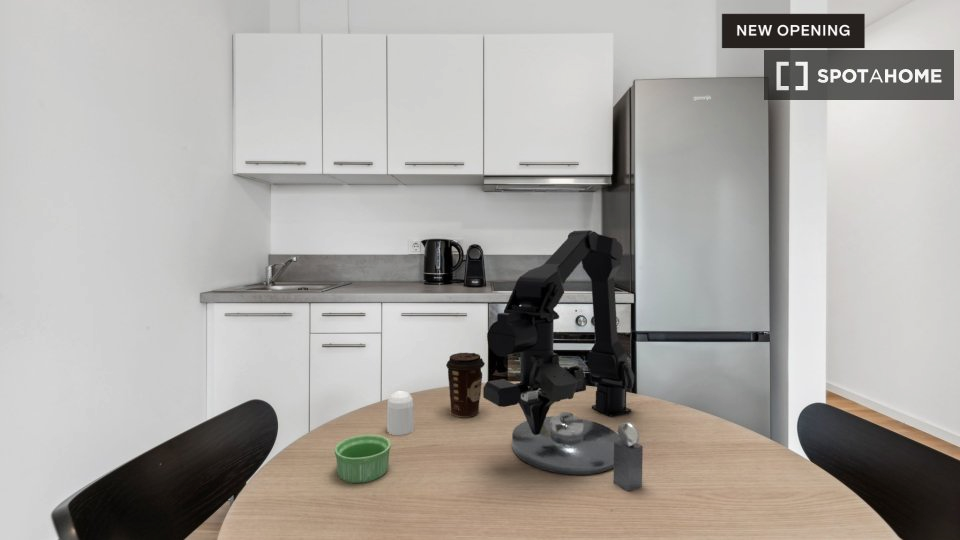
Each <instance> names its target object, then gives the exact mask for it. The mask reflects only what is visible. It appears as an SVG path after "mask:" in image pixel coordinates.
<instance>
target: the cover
mask: <svg viewBox="0 0 960 540" xmlns="http://www.w3.org/2000/svg"><path fill="white" fill-rule="evenodd" d="M581 419H582V418H580V417H577V416H575V415H574V414H573V413H572V412H568V411H565V412H561V413H560V414H558V415H555V416H554V417H552V418H551V419H550V437H551V439H552V440H554V441H556V442H559V443H563V444H576V443H580V442H581V441H583V420H581Z"/></svg>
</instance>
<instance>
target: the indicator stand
mask: <svg viewBox="0 0 960 540" xmlns="http://www.w3.org/2000/svg"><path fill="white" fill-rule="evenodd" d="M617 434H618V435H619V438H620V440H621V441H618V442H615V443H614V467H613V479H612V480H613V484H614V485H616V486H618V487H620V488H622V489H623V490H626V492H627V493H628V492H631V491H634V490H636V489H639V488H641V487H643V455H644V454H643V453H644V452H643V449H644V447H643V445H642V444H639V441H640V432H639V429H638V427H637V426H636V425H635V424H634V423H633V422H631V421H625V422H621V423H620V424H619V425H618V428H617Z"/></svg>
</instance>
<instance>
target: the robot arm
mask: <svg viewBox="0 0 960 540" xmlns="http://www.w3.org/2000/svg"><path fill="white" fill-rule="evenodd" d="M623 250H624V249H623V245H622V243H621V242H619V241H618V240H617V238H615V237H610V236H606V235H604V234H603V235H602V234H599V233H597V232H596V231H595V230H594V231H593V230H591V229H589V230H588V229H587V230H573V231H570V233H568V236H567V239H565V241H564V242H563V243H562V244H561V245H560V246H559V247H558V248H557V249H556V250H555V251H554V252H553V253H552V255H550V257H549V258H547V260H546V261H545V262H544V263H543V264H541V266H538V267H535V268H532V269H530V270H528V271H527V272H525V273H523V274H522V275H521V276H519V277H518V279H517V280H516V282H515V285H514V287H513V289H512V291H511V294H510V296H509V299H508V301H507V302H506V306H505V307H504V310H503V312H499V313H497V315H496V321H494V322H493V323H492V324H491V325H490V327H489V328H488V332H487V333H486V339H487V340H486V341H487V344H488V347H489V348H490V350H491V351H492V353H493V354H494V355H496V356H499V357H502V358H503V357H504V358H505V357H508V356H509V357H510V356H512V355H513V356H514V355H516V357H517V358H520V363H519V364H520V367H519V370H520V371H519V372H515V379H516V380H518V381H519V382H518V383H516V382H515V383H513V382H511V381H509V380H507V379H504V378H501V379H495V380H490V381H486V383H485V384H484V386H483V389H482V390H483V396H482V397H483V398H484V399H485V400H487V401H488V402H491V403H493V404H494V405H495V406H497V407H499V408H500V407H502V408H505V407H510V406H515V405H519V406H520V409H521V410H522V412H523V414H524V417H525V420H526V421H527V422H528V424H529V426H530V429H531V431H532V433H533V434H534V435H538V434H540V431H541V428H542V426H543V423H544V420H545V418H546V417H547V415H548V413H549V410H550V409H551V406H552V405H553V404H554V403H559V402H561V401H563V400H564V401H565V400H572V399H573V398H574V395H575V393H580V392H586V391H587V379H586V378H585V376H584V369H583V368H582V367H581V366H579V365H574V366H570V367H567V366H565V367H562V366H561V364H560V358H559V354H558V353H555V352H554V324H555V323H554V320H559V319H560V315H559V313H558V312H556V311H555V310H554V309H555V308H556V307H557V305H559V302H560V300H561V299H562V297H563V296H564V294H565V289H564V288H565V287H564V283H566V280H567V279H568V278H569V277H570V275H571V274H572V273H573V272H574V271H575V270H576V268H577V267H578V266H579V264H580V263H581V264H582V269H583V270H584V272H585V273H586V275H587V276H588V277H589V279H590V283H591V297H592V298H591V299H592V312H593V313H592V314H593V327H594V341H595V342H594V344H593V346H592V347H591V349H590V351H588V352H587V355H586V357H587V371H588V376H589V381H590V383H595V384H596V390H595V404H594V405H591V409H594V410H596V411H597V412H600V413H602V414H605V415H607V416H609V417H616V416H619V415H625V414H628V413H632V408H630V407H627V390H628V389H633V387H634V383H635V374H634V371H633V369H632V367H631V366H630V363H629V362H628V358H627V351H626V350H625V348H624V347H623V346H622V344H621V343H620V341H619V338H618V324H617V323H618V322H617V306H616V305H617V303H616V290H615V289H616V286H615V276H616V274H617V273H618V271H619V269H620V267H621V265H622V257H623V252H624V251H623Z"/></svg>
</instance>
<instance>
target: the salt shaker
mask: <svg viewBox="0 0 960 540" xmlns="http://www.w3.org/2000/svg"><path fill="white" fill-rule="evenodd" d="M386 403H387V405H386V408H387V409H386V410H387V412H386V414H387V417H386V418H387V419H386V421H387V426H386V427H387V429H386V430H387V433H388V432H389V433H390V434H389V433H388V434H389V435H391V434H392V436H398V435H399V436H406V435H409V434H411V433H413V432H414V430H415V428H414V427H415V423H414V422H415V420H414V419H415V417H414V416H415V415H414V413H415V412H414V410H415V409H414V399H413V396H412V395H411V394H410V393H409V392H407V391H406V390H405V391H404V390H398V391H395V392H393V393H392V394H391V395H390V396H389V397H388V400H387V402H386ZM410 432H411V433H410ZM408 433H409V434H408ZM405 434H406V435H405Z"/></svg>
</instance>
